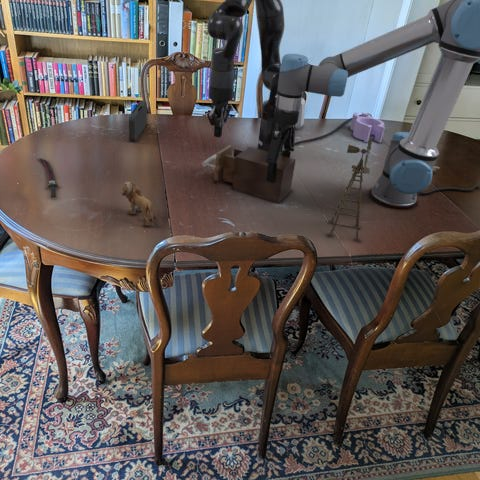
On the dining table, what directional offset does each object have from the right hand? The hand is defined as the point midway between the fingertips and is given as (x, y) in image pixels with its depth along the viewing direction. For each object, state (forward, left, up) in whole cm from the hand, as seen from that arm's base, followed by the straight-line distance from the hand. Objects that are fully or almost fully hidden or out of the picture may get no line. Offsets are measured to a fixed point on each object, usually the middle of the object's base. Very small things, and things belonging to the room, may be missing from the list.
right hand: (277, 175), depth 153 cm
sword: (+74, -1, -7) cm, 75 cm away
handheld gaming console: (+52, -48, -7) cm, 71 cm away
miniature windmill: (-19, +22, -7) cm, 29 cm away
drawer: (+14, -7, -6) cm, 17 cm away
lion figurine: (+42, +20, -7) cm, 47 cm away
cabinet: (+4, -2, -7) cm, 8 cm away
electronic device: (-14, -70, -7) cm, 72 cm away
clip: (-49, -66, -7) cm, 82 cm away
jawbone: (-61, -33, -7) cm, 70 cm away
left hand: (+20, -11, +8) cm, 24 cm away
